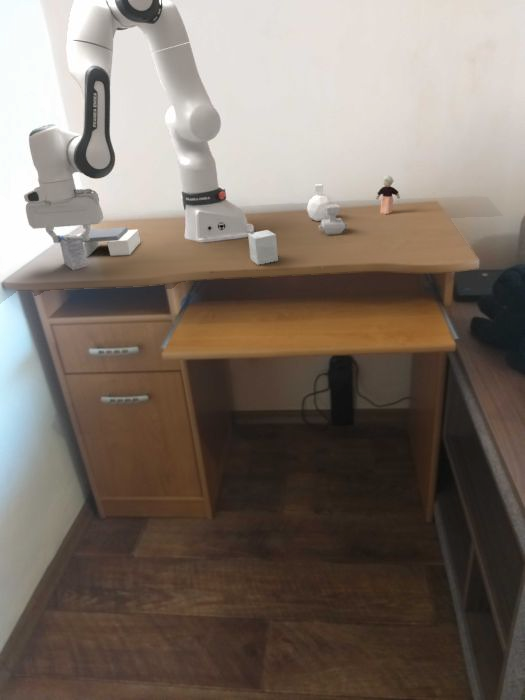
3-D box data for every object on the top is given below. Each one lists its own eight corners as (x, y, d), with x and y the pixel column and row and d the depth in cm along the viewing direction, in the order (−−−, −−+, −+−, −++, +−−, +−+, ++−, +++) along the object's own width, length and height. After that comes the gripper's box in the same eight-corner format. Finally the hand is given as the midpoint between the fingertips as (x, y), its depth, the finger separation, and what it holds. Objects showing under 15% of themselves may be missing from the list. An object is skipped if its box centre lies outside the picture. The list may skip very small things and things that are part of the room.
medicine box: (88, 267, 150) (82, 237, 146) (72, 271, 148) (66, 240, 144) (79, 262, 156) (73, 233, 152) (64, 265, 153) (58, 235, 150)
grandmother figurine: (375, 216, 174) (376, 177, 168) (375, 214, 177) (376, 175, 171) (399, 216, 172) (401, 176, 167) (398, 213, 176) (400, 173, 170)
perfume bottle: (308, 219, 179) (306, 182, 173) (335, 217, 177) (334, 181, 172) (306, 225, 171) (304, 188, 165) (334, 224, 170) (334, 186, 164)
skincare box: (278, 261, 141) (276, 234, 138) (257, 265, 140) (255, 238, 136) (270, 255, 146) (268, 229, 143) (249, 259, 145) (247, 233, 141)
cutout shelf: (140, 245, 167) (137, 225, 164) (130, 256, 156) (126, 236, 153) (83, 248, 168) (78, 229, 165) (68, 260, 158) (63, 240, 155)
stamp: (319, 237, 158) (318, 209, 154) (317, 232, 164) (316, 204, 160) (349, 235, 158) (349, 206, 154) (346, 229, 163) (345, 202, 160)
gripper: (100, 185, 143) (111, 235, 149) (28, 191, 145) (42, 240, 151) (92, 190, 137) (104, 242, 144) (17, 196, 139) (32, 247, 146)
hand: (71, 241), depth 148 cm, fingers open, 7 cm apart
